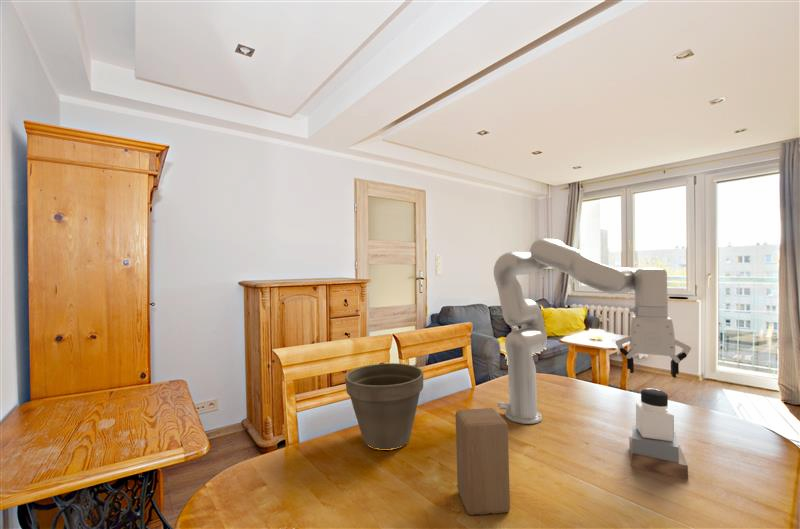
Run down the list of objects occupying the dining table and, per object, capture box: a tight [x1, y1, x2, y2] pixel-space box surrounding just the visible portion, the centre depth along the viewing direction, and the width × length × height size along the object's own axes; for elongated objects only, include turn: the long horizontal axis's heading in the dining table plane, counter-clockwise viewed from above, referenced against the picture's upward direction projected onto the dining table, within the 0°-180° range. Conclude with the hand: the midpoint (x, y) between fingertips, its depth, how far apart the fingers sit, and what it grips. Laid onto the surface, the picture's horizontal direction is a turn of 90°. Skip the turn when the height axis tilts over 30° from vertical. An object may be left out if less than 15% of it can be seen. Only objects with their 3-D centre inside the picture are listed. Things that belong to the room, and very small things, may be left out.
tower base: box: [628, 436, 689, 480], centre depth 101 cm, size 12×12×4 cm
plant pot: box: [344, 362, 424, 449], centre depth 118 cm, size 25×25×22 cm
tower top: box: [631, 424, 679, 463], centre depth 101 cm, size 10×10×4 cm
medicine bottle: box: [635, 387, 675, 442], centre depth 101 cm, size 7×7×12 cm
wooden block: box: [455, 407, 511, 516], centre depth 86 cm, size 10×10×20 cm
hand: (652, 374), depth 102 cm, fingers open, 9 cm apart
